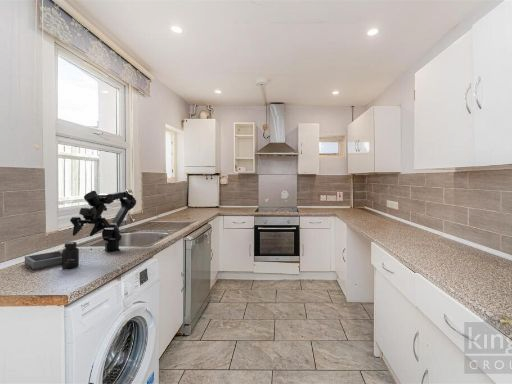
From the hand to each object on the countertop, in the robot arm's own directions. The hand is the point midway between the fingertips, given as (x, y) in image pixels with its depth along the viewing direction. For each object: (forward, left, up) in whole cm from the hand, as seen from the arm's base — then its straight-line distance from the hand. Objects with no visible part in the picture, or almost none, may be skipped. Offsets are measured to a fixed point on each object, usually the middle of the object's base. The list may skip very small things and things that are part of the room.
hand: (81, 235), depth 141 cm
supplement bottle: (+7, +5, -14) cm, 16 cm away
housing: (+12, -10, -14) cm, 21 cm away
